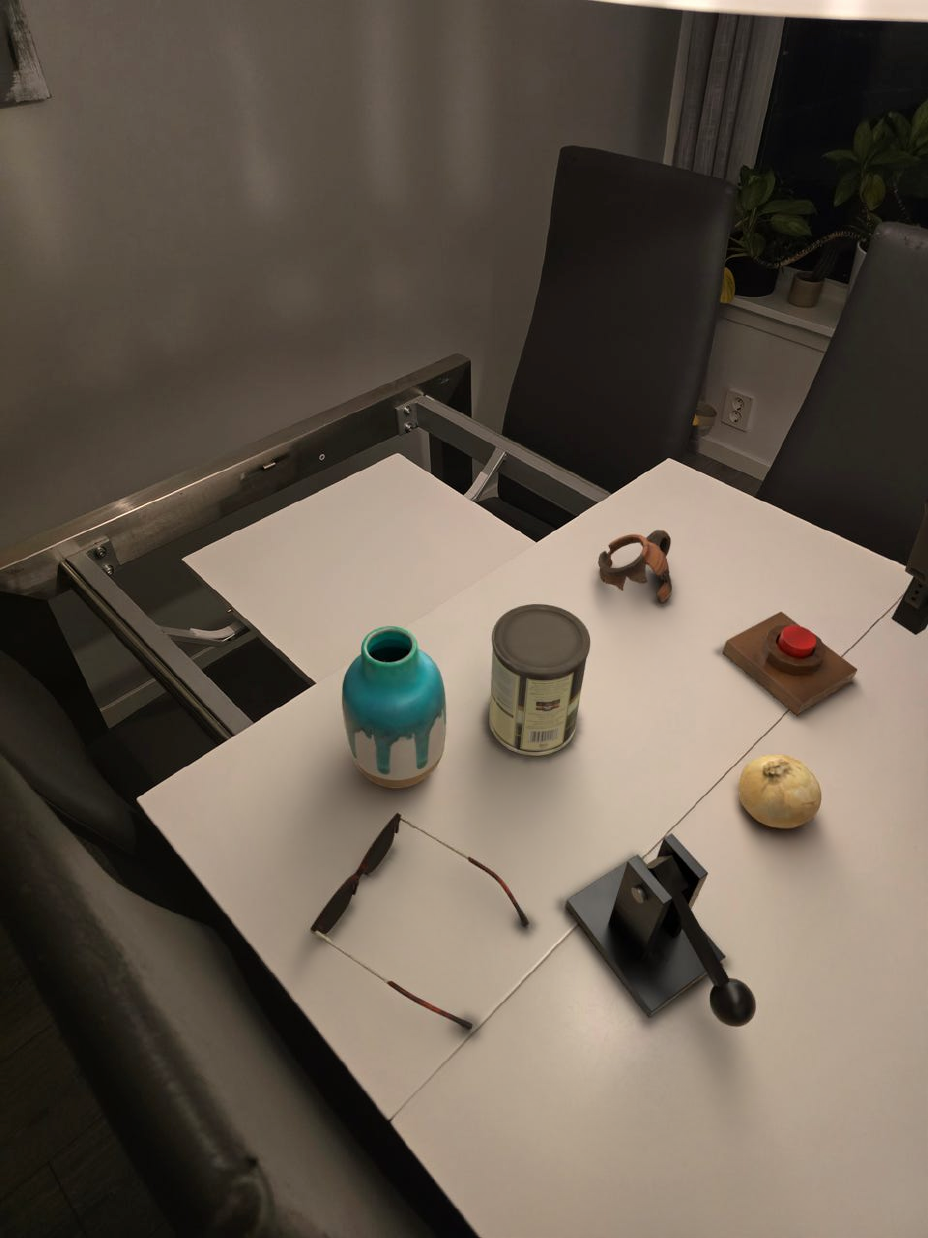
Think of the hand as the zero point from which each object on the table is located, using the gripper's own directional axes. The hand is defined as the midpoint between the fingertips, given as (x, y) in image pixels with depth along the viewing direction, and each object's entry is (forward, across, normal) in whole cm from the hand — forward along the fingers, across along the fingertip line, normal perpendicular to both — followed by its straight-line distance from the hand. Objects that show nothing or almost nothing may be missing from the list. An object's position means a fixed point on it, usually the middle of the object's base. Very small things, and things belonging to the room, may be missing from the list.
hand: (908, 623), depth 76 cm
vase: (+20, +44, -25) cm, 54 cm away
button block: (+19, -4, -12) cm, 23 cm away
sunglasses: (+20, +51, -7) cm, 55 cm away
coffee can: (+20, +28, -22) cm, 40 cm away
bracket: (+20, +34, +4) cm, 39 cm away
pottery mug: (+19, 0, -34) cm, 39 cm away
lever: (+13, +34, +8) cm, 37 cm away
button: (+16, -4, -12) cm, 20 cm away
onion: (+20, +13, +1) cm, 24 cm away
